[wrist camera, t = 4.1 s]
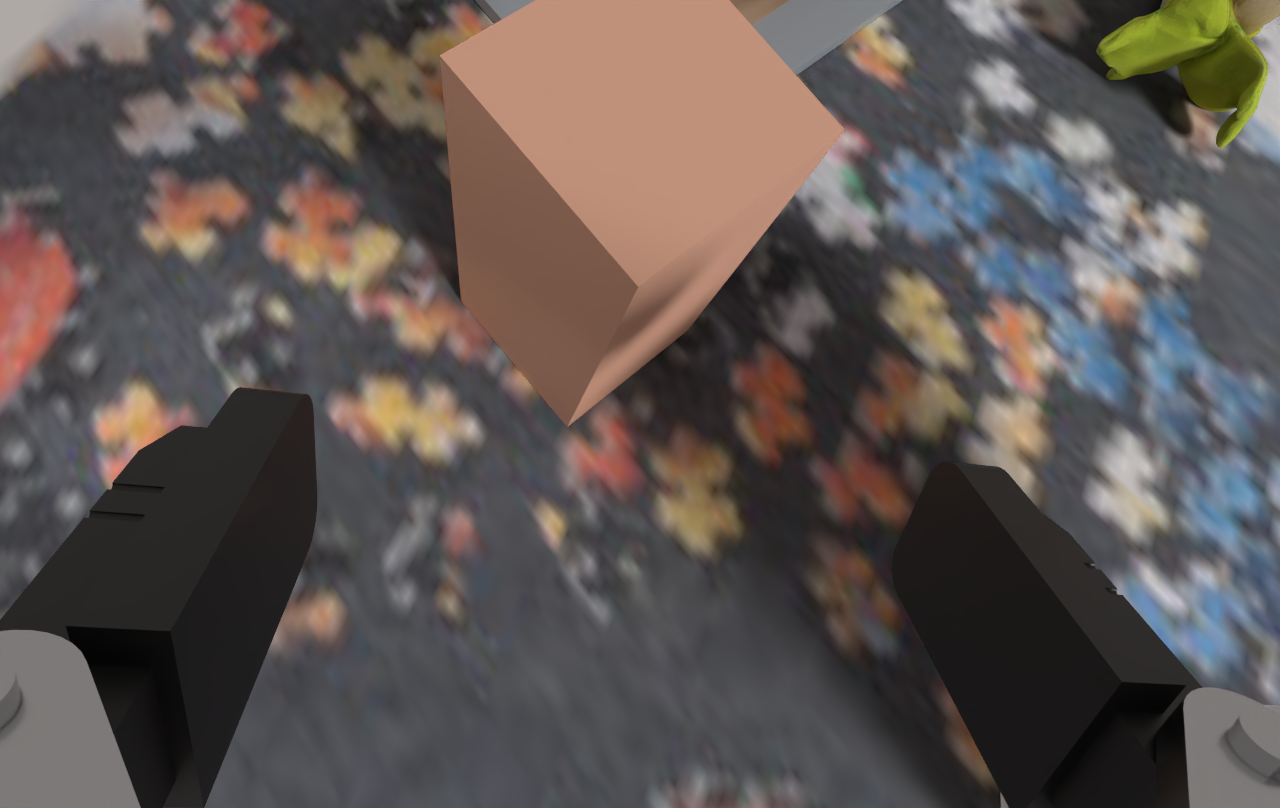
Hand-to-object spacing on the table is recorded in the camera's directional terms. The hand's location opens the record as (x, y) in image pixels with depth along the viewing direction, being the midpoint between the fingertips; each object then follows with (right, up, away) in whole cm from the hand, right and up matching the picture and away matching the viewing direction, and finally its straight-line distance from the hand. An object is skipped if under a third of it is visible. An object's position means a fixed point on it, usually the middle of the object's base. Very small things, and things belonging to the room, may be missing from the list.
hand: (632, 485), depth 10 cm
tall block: (-2, +4, +11) cm, 12 cm away
